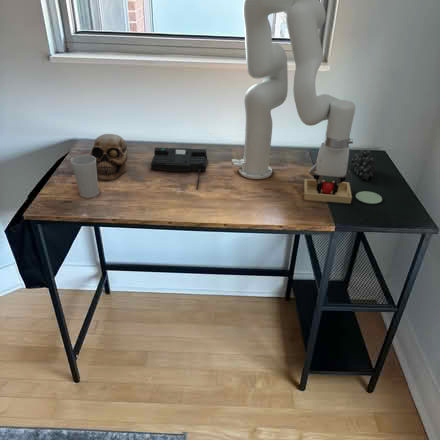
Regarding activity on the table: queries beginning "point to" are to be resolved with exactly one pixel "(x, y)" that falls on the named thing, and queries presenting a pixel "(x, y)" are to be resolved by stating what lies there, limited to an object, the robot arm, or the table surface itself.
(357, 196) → the coaster
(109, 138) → the brown skull
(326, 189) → the strawberry
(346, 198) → the tray
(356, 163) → the fruit
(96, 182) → the cup
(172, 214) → the table surface
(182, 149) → the electronic device
